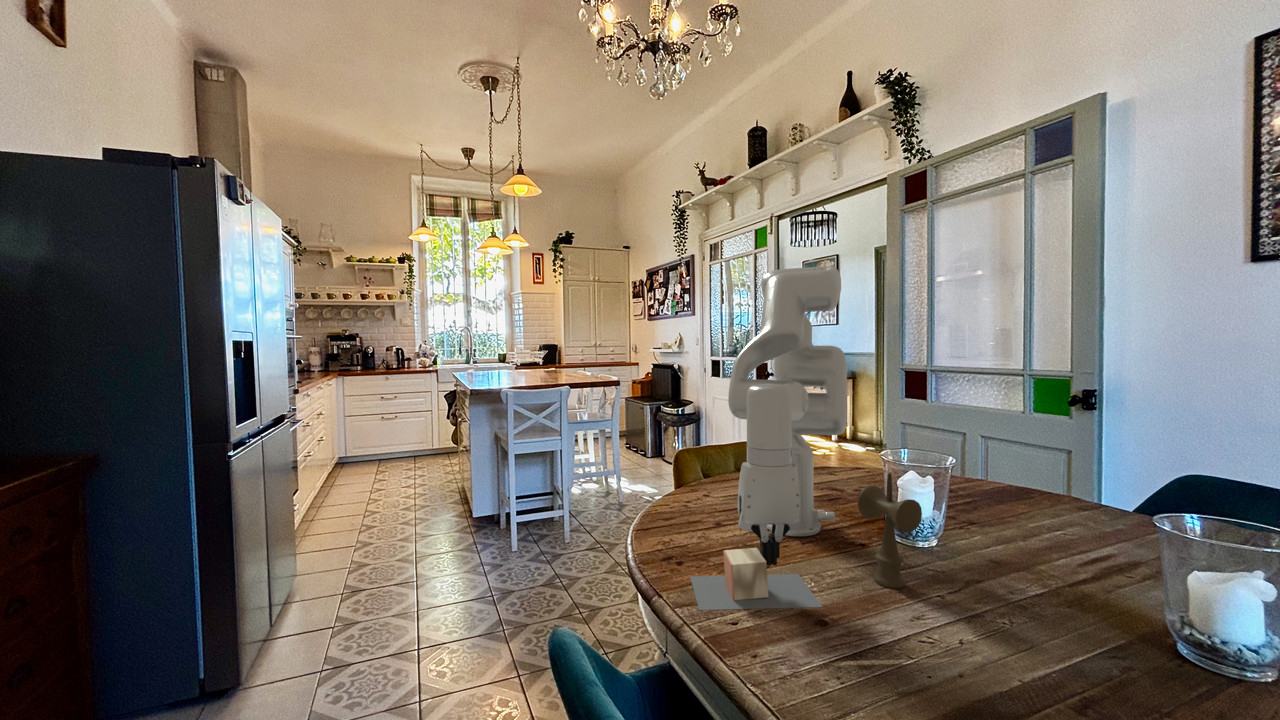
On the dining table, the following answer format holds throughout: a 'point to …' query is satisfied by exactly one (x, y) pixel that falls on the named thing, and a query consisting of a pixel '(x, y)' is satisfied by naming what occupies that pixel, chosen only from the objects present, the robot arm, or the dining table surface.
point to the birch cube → (745, 573)
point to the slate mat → (780, 595)
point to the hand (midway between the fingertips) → (769, 561)
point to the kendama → (889, 529)
